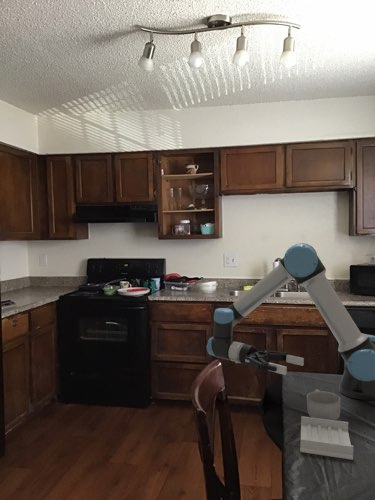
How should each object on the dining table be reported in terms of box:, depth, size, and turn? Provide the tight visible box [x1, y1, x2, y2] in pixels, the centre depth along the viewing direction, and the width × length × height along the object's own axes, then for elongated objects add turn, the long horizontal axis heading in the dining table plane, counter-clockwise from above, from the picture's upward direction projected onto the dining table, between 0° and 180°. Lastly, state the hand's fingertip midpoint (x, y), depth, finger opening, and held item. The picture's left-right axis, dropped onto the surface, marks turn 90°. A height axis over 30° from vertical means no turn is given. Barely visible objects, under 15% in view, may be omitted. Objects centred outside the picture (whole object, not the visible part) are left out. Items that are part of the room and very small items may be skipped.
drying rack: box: [299, 415, 354, 460], centre depth 127 cm, size 16×14×4 cm
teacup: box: [306, 389, 342, 421], centre depth 143 cm, size 14×11×8 cm
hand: (295, 366), depth 149 cm, fingers open, 13 cm apart
